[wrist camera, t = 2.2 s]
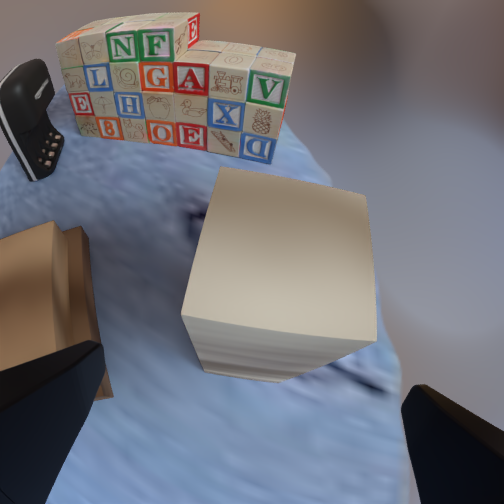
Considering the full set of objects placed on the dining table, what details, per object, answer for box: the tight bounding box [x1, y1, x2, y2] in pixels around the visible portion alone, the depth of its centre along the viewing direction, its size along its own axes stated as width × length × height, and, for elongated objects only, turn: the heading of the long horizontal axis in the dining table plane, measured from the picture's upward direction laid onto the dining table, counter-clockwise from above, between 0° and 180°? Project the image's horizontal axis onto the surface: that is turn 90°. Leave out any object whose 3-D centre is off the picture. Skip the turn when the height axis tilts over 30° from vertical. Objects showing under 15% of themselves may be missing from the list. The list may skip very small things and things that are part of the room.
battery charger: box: [0, 59, 64, 181], centre depth 19 cm, size 7×4×11 cm, turn 13°
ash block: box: [181, 166, 377, 383], centre depth 12 cm, size 4×4×12 cm
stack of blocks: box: [56, 13, 296, 164], centre depth 22 cm, size 21×6×12 cm, turn 78°
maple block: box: [0, 220, 74, 371], centre depth 13 cm, size 10×10×2 cm
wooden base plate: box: [62, 226, 114, 401], centre depth 15 cm, size 12×12×2 cm
